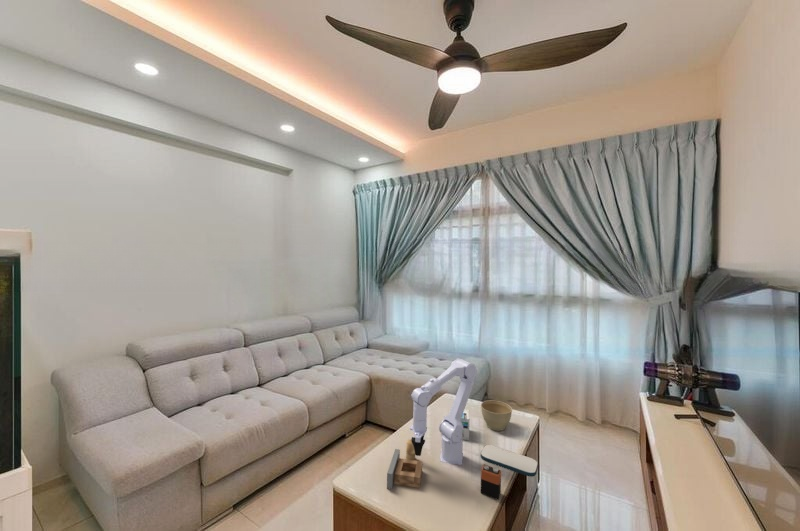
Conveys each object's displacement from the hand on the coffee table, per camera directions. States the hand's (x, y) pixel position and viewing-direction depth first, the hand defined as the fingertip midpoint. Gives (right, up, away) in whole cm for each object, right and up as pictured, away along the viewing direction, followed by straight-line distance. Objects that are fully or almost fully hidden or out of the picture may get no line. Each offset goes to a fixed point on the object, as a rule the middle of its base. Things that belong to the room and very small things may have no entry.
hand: (418, 449), depth 132 cm
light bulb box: (+24, -9, +29) cm, 39 cm away
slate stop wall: (-11, -8, -5) cm, 14 cm away
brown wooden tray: (-5, -8, -6) cm, 11 cm away
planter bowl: (+44, -10, +37) cm, 58 cm away
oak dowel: (-3, -8, +6) cm, 11 cm away
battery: (+27, -10, -12) cm, 31 cm away
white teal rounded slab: (+41, -10, +7) cm, 43 cm away
